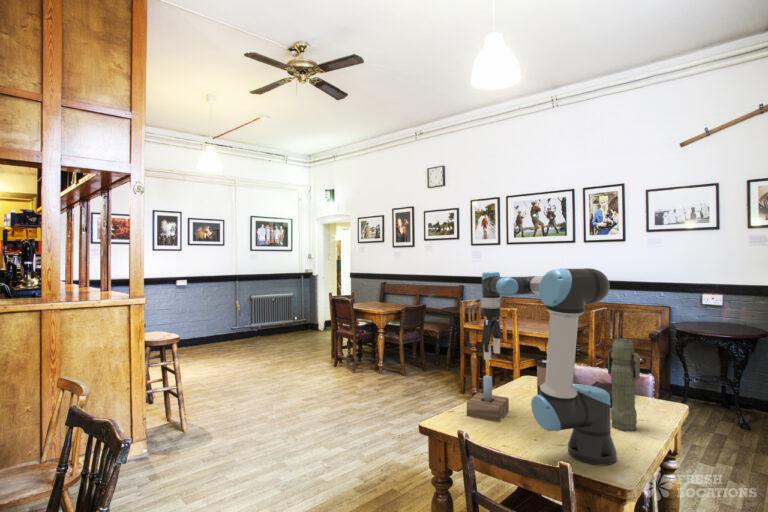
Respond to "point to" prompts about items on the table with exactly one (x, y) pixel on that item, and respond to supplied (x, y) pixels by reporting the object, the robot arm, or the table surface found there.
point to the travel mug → (541, 373)
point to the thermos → (623, 383)
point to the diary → (605, 388)
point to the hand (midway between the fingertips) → (492, 356)
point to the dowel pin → (487, 388)
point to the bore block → (488, 407)
